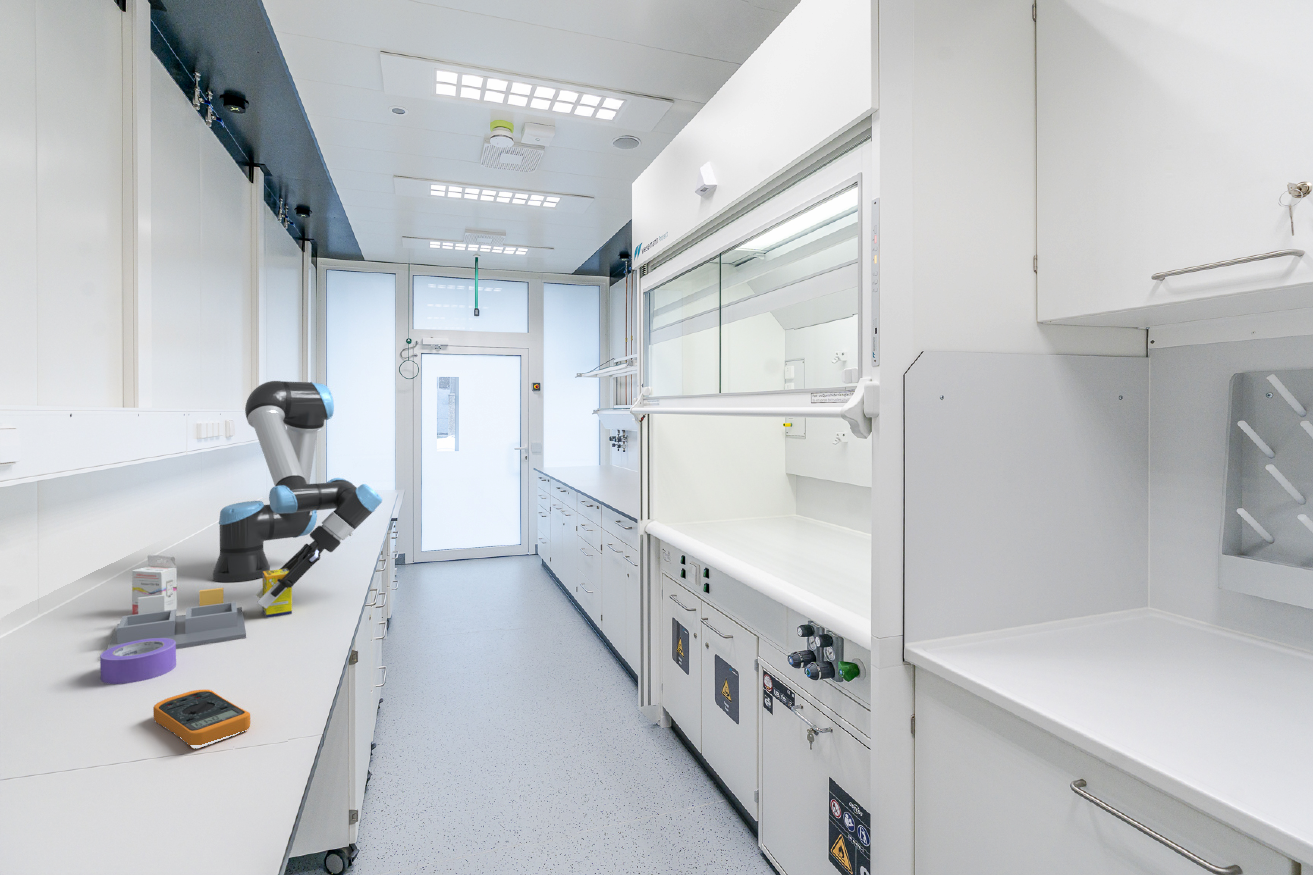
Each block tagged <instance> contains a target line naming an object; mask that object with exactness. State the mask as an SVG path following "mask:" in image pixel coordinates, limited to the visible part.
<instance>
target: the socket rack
mask: <svg viewBox="0 0 1313 875" xmlns="http://www.w3.org/2000/svg"><path fill="white" fill-rule="evenodd" d="M198 595H199V606H191V607H186V609H185V614H180V615H177V611H176V609H174V610H167V611H165V595H156V596H148V597H139V598H138V614H136V615H132V614H131V615H129V614H128V615H122V617H121V618H120V621H119V623H117V625H116V627H115V629H114V631H113V634H112V637H111V639H110V641H109V643H108V645H107V649H106V650H108V649H110V648H112V647H115V646H117V645H121V644H124V643H128V642H132V641H138V640H143V639H152V638H169V639H173V640H174V641H175V642H176V650H178V649H184V648H189V647H197V646H202V645H204V646H205V645H209V644H210V645H211V644H215V643H221V642H220V641H223V642H229V641H235V640H240V639H239V638H242V639H247V630H246V625H245V619H244V618H245V617H244V611H243V607H242V606H240V607H237V601H228V602H224V587H217V588H208V589H207V588H206V589H200V590H199V594H198Z"/></svg>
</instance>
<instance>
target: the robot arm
mask: <svg viewBox="0 0 1313 875" xmlns="http://www.w3.org/2000/svg"><path fill="white" fill-rule="evenodd" d="M244 408H245V409H244V413H245V417H246V420H247V423H248V425H249V426H250V427H252V428H253V429H254V431H255V434H256V436H257V439H258V443H259V445H260V448H261V451H262V454H263V456H264V459H265V462H266V465H267V467H268V471H269V473H270V476H271V479H272V481H273V484H274V486H272V487H271V489H270V491H269V493H268V494H269V495H268V500H269V504H264V502H263V501H261V500H252V501H250V500H249V501H242V502H237V503H233V504H229V505H227V506H224V507H223V508H222V509H221V510H220V512H219V521H218V524H219V556H218V558H217V561H216V563H215V566H214V568H213V571H212V572H213V573H212V580H213V581H215V582H220V583H221V582H222V583H234V582H238V583H239V582H245V581H246V580H247V581H253V580H257V579H256V578H258V579H260V578H262V572H263V571H270V570H271V567H270V563H269V561H268V559H267V556H266V553H265V551H264V542H265V541H272V540H273V541H274V540H282V539H291V538H295V539H296V538H299V537H305V536H307V535H309V536H310V538H311V539H312V540H313V541H312V542H310V544H308V543H305V544H304V545H303V546H302V547H301V548H300V550H298V551H297V552H296V553H295V554H294V555H293V556H292V557H291V558H290V559H289V560H288V561H287V562H286V563H284V565H282V566H281V567H280V568H279V569H286V568H287V569H288V570H289V572H288V573H287V574H286V575H285V576H284V577H283V578H282V579H278V580H277V581H278V582H277V583H276V584H275V585H274V586H273V587H272V588H271V589H270V590H269V591H268V592H267V593H265V594H264V595H263V587H261V589H260V590H259V591H258V592H257V593H256V594H255V597H257V598H258V600H257V601H256V602H257V604H259V605H260V606H261V607H262V608H263V607H265V608H267V607H268V606H269V605H270V604H271V603H272V602H273V601H274V600H275V599H276V598H278V597H279V596H280V595H281V594H282V593H283V592H284V591H285V590H286V589H287V588H288V587H290V588H291V587H292V588H293V586H294V585H295V584H296V583H297V582H298V581H299V580H300V579H301V578H302V577H303V576H304V574H306V573H307V571H309V569H311V568H312V567H313V566H314V565H315V564H317V562H318V561H320V560H321V554H322V552H324V550H326V551H327V552H329V553H333V552H334V551H335V550H336V549H337V548H338V547H339V546H340V545H341V541H345V540H346V539H347V538H348V537H349V536H350V537H351V536H352V535H353V532H354V531H355V530H356V529H357V528H358V527H359V526H361V524H362V523H363V522H364V521H366V519H368V517H369V516H370V515H372V513H374V512H375V511H376V509H377V508H378V507H379V506H380V505H381V504H382V503H383V498H382V496H381V495H379V494H378V493H377V492H376V491H375V489H373V488H372V487H370V486H369V485H368V484H366V483H362V484H360V485H359V486H356V485H354V484H353V483H352V482H351V481H350V480H346V479H344V478H343V477H333V478H331V479H330V480H328V481H326V482H322V483H320V482H319V483H310V482H311V476H312V470H313V469H312V468H313V462H314V456H315V450H316V444H317V437H318V431H319V430H321V429H322V428H324V426H325V425H324V424H325V420H326V421H328V420H331V419H332V417H333V415H334V411H335V405H334V398H333V394H332V393H331V390H330V388H329V387H328V386H327V385H326V384H323V383H319V382H318V383H317V382H312V381H310V382H307V381H303V382H302V381H281V380H270V381H267V382H263V383H262V384H260V385H258V386H257V387H256V388H254V389H253V390H252V391H251V392H250V394H249V395H248V397H247V399H246V403H245V407H244ZM323 510H333V511H332V512H330V514H329V515H327V516H326V518H324V520H322V521H321V525H318V526H316V524H317V520H318V514H317V513H318V512H317V511H323ZM315 526H316V528H315ZM252 579H253V580H252ZM247 581H246V582H247Z"/></svg>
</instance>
